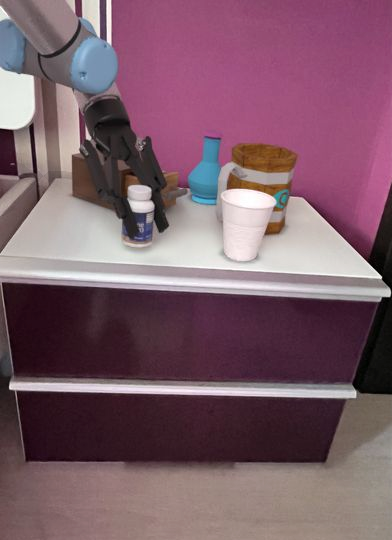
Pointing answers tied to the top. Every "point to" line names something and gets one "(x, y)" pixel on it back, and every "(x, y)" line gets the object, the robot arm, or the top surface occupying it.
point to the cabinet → (84, 182)
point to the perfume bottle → (207, 170)
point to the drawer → (169, 191)
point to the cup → (245, 222)
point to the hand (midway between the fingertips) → (149, 231)
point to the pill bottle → (140, 216)
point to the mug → (260, 177)
